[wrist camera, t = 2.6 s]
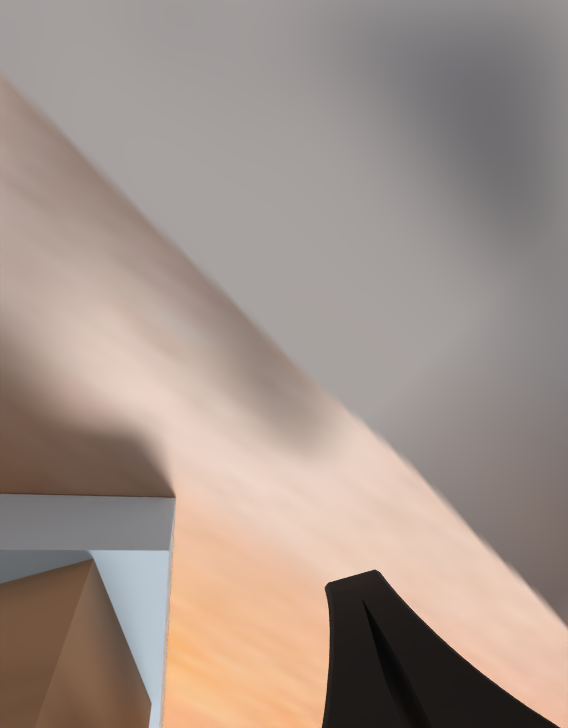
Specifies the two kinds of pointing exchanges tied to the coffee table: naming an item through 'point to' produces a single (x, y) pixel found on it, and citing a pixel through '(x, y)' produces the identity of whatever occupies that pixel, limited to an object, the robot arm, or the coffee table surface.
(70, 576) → the walnut cube
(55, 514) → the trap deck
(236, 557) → the coffee table surface
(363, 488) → the coffee table surface
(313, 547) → the coffee table surface
